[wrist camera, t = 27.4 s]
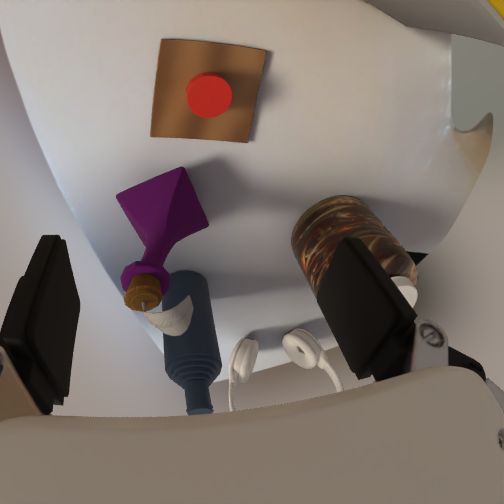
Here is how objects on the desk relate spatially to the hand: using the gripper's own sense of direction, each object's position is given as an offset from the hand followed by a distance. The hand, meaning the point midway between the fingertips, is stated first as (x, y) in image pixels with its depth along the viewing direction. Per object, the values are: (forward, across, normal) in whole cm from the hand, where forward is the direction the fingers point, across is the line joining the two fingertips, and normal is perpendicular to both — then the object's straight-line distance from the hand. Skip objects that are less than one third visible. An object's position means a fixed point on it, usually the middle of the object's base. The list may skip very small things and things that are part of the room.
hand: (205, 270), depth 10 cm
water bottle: (+23, -2, +24) cm, 33 cm away
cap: (+23, -2, -2) cm, 23 cm away
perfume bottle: (+24, +1, +10) cm, 25 cm away
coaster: (+23, -2, -2) cm, 23 cm away
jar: (+23, -21, +14) cm, 34 cm away
